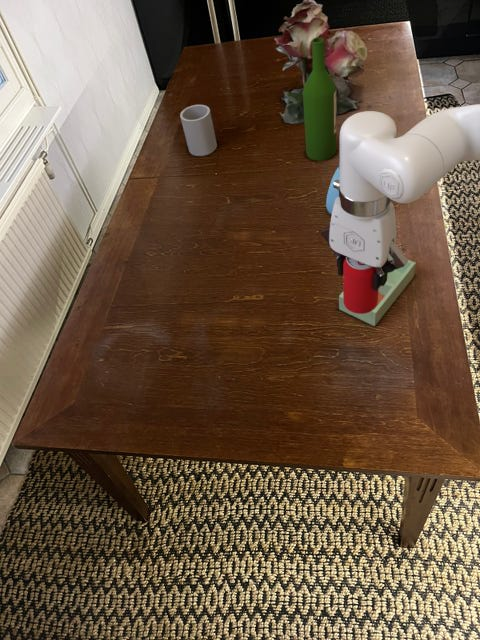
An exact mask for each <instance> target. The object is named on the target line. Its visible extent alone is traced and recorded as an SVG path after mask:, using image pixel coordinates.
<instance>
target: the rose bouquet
mask: <svg viewBox="0 0 480 640" xmlns="http://www.w3.org/2000/svg"><path fill="white" fill-rule="evenodd" d="M323 6H324V5H323V4H322V3H321V4H320V3H317V2H316V1H315V0H303V1H302V3H299V4H296V5H295V7H293V9H292V11H291V16H289V17H287V16H284V17H283V21H284V22H283V23H282V25H281V26H280V27H279V28H278V33H280V32H281V33H282V37H274V41H275V45H278V47H275V49H276V51H278V52H279V53H281V54H285V55H287V57H288V58H289V61H287V62H286V63H285V64H284V65H283V66H282V71H283V72H284V71H286V70H287V69H290V68H292V67H294V66H295V67H296V68H298V70H299V71H300V72H301V74H302V83H303V86H304V85H305V83H306V81H307V79H308V78H309V76H310V74H311V72H312V70H313V53H312V40H313V39H315V38H323V39H324V58H325V69H326V71H327V72H328V74H329V75H330V77H332V79H333V81H334V82H335V87H336V116H337V115H342V114H344V113H347V112H348V111H350V110H357V109H358V106H357V105H356V103H358V101H356V100H354V99H353V98H351V97H350V94H351V93H352V90H351V88H350V87H349V85H348V84H347V83H353V84H354V85H356V82H354V81H353V80H350V78H352V79H355V78H358V77H359V76H362V75H363V74H364V72H365V69H364V67H365V66H366V63H365V61H366V59H367V57H368V48H367V45H366V42H364V41H363V40H362V39H361V38H360V35H359V34H358V33H356V32H354V31H353V30H341V29H339V30H337V31H336V32H334V35H333V36H332V34H333V33H332V32H331V31H330V25H329V22H328V16H327V15H326V14H325V13H323ZM303 89H304V87H302V88H295V89H292V91H289V90H282V93H283V97H281V101H285V104H286V105H285V108H284V112H283V113H281V112H279V114H280V115H281V118H282V119H283V122H284V123H285V124H290V125H294V124H295V125H296V124H303V123H305V121H304V103H303ZM348 96H349V97H348Z"/></svg>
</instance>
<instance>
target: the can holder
mask: <svg viewBox="0 0 480 640" xmlns="http://www.w3.org/2000/svg"><path fill="white" fill-rule="evenodd" d="M389 258H390V261H391V260H393V258H392V257H391V256H390V255H389ZM416 264H417V262H415V261H413V260H410V259H408V262H407V263H406V265H405V266H404V267H402V268H399V269H395V270H394V271H392V272H389V273H388V275H387V281H386V283H385V285H384V286H380V288H379V291H378V303H377V306H376V307H375V308H374V309H373V310H372V311H371V312H368V313H364V314H357V313H353V312H351V311H349V310H348V309H347V308H346V307H345V305H344V303H343V291H342V292H341V293H340V294H339V296H338V310H340V311H342V312H344V313H346V314H348V315H350V316H352V317H354V318H356V319H358V320H361V321H363V322H364V323H366V324H369V325H371V326H373V327H376V325H377V324H378V323H379V322H380V321H381V319H382V318H383V317H384V315H385V314H386V313H387V312H388V310H389V309H390V308H391V306H392V305H393V304H394V303H395V302H396V300H397V299H398V297H400V295H401V293H402V292H403V291H404V290H405V289H406V287H407V286H408V285H409V284H410V282H411V281H412V280H413V279H414V276H415V271H416V266H417V265H416Z"/></svg>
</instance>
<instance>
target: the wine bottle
mask: <svg viewBox="0 0 480 640" xmlns="http://www.w3.org/2000/svg"><path fill="white" fill-rule="evenodd" d="M312 53H313V70H312V72H311V74H310V76H309V78H307V81H306V83H305V85H304V84H303V88H304V89H303V103H304V121H305V122H304V138H305V139H304V140H305V154H306V156H307V158H309V159H310V160H313V161H317V162H318V161H319V162H320V161H327V160H330V159H332V158H333V157H335V155H336V153H337V115H336V87H335V82H334V81H333V77H332V76H331V75H330V74H328V72H327V71H326V69H325V58H324V39H323V38H315V39H313V40H312Z"/></svg>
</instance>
